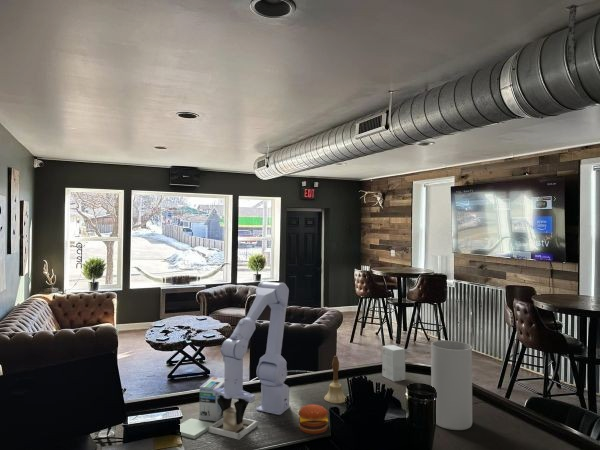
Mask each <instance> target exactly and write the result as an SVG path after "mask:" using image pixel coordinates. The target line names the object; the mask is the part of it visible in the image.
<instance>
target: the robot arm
mask: <svg viewBox="0 0 600 450" xmlns="http://www.w3.org/2000/svg"><path fill="white" fill-rule="evenodd" d="M289 293H290V290H289V287H288V286H287V284H286V283H285V282H274V281H273V282H272V281H266V280H263V281H260V282H259V283H258V284H257V288H256V289H255V298H254V300H253V302H252V304H251V306H250V308H249V310H248V312H247V314H246V316H245V317H243V318H240V320H239V321H238V322H237V325H236V326H235V328H234V329H233V332H232V333H231V335H230V336H229V338H227V339H225V340H224V341H223V342H222V344H221V348H220V355H221V356H222V361H223V363H224V371H223V374H224V375H223V376H224V377H223V378H224V388H217V387H216V388H215V389H213V395H214V396H216V395H218V396H220V397H219V399H217V402H218V404H219V406H220V408H221V410H222V413H223V411H225V410H226V409H228V408H230V407H231V406H232V401H233V399H235V400H237V401H235V402H234V403H233V406H235V409H236V423H237V424H238V425H239V424H240V423H242V420H243V418H244V415H245V412H246V409H247V407H248V405H249V404H253V403H255V401H256V394H253V393H250V392H248V391H245V390H244V388H243V387H244V385H243V384H244V375H243V374H244V358H245V356H246V355H247V352H248V346H249V341H250V339H251V337H252V336H253V334H254V332H255V331H256V322H257V320H258V319H259V318H260V316H261V315H262V313H263V311H264V310H265V308H267V306H268V307H269V308H270V315H269V325H268V332H267V333H268V334H267V340H266V342H267V343H266V350H265V354H263V355H262V356H261V357H260V358H259V361H258V365H257V366H256V371H255V372H256V377H257V379H258V380H259V383H261V385H260V389H261V392H260V395H261V396H260V397H261V398H260V401H261V402H260V405H259V406H257V408H256V409H255V410H256V411H259V412H265V413H268V414H273V415H278V416H280V415H282V414H283V413H285V411H287V410H289V408H290V407H291V405H290V387H289V385H287V384H285V381H286V380H287V377H288V369H287V364H288V363H287V361H286V359H285V358H284V357H283V356H282V355H281V354H282V348H283V339H284V330H285V321H286V314H287V313H286V312H287V306H288V303H289V302H288V301H289Z"/></svg>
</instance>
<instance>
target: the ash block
mask: <svg viewBox="0 0 600 450" xmlns="http://www.w3.org/2000/svg"><path fill="white" fill-rule="evenodd" d="M222 418H223V424H222V429H223V430H227V431H231V432H235V433H238V432H239V430H241V429H242V428H243V427H244V424H243V420H242V423H240V424H239V425H238V424H237V423H236V409H235V405H231V407H230V408H228V409H226V410H225V411H223V416H222Z"/></svg>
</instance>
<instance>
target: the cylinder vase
mask: <svg viewBox="0 0 600 450" xmlns="http://www.w3.org/2000/svg"><path fill="white" fill-rule="evenodd" d="M430 344H431V345H430V360H431V361H430V363H431V364H430V371H431V372H430V375H431V377H430V380H431V383H430V384H431V386H432V387H434V388H435V389H436V392H437V398H436V426H438V427H441V428H443V429H446V430H452V431H465V430H468V429H470V428H471V427H472V426H473V346H472V345H471V344H469V343H466V342H462V341H457V340H445V339H444V340H443V339H441V340H440V339H439V340H434V341H432V342H431V343H430ZM431 386H430V387H431Z"/></svg>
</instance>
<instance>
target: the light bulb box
mask: <svg viewBox="0 0 600 450" xmlns="http://www.w3.org/2000/svg"><path fill="white" fill-rule="evenodd" d="M216 387H217V388H224V377H216V376H212V377H210V378H209V379H208V380H207V381H205V382H204V383H203V384H202V385H200V386H199V406H198V409H199V410H198V413H199V416H198V417H199V419H198V420H201V421H212V422H217V421H219V420H220V419H222V418H223V413H222V410H221V408H220V406H219V404H218V402H217V399H219V397H220V396H218V395H216V396H214V395H213V389H215V388H216Z"/></svg>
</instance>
